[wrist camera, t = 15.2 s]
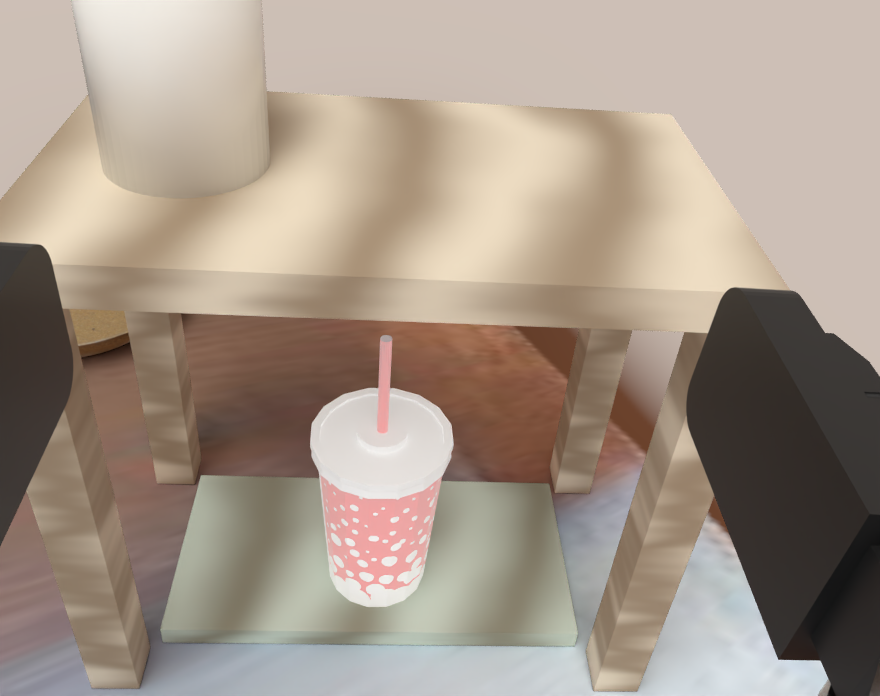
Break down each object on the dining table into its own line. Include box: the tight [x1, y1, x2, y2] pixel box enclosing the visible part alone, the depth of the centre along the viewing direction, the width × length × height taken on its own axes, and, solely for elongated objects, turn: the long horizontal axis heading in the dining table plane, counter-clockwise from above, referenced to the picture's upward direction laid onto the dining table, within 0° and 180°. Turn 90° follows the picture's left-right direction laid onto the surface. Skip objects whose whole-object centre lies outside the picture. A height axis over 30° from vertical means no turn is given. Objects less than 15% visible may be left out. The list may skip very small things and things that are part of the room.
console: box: [0, 91, 790, 691], centre depth 36 cm, size 24×14×22 cm, turn 92°
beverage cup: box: [310, 335, 454, 607], centre depth 36 cm, size 6×6×14 cm
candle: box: [71, 0, 270, 198], centre depth 26 cm, size 6×6×9 cm
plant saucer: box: [70, 309, 130, 357], centre depth 57 cm, size 15×15×3 cm
